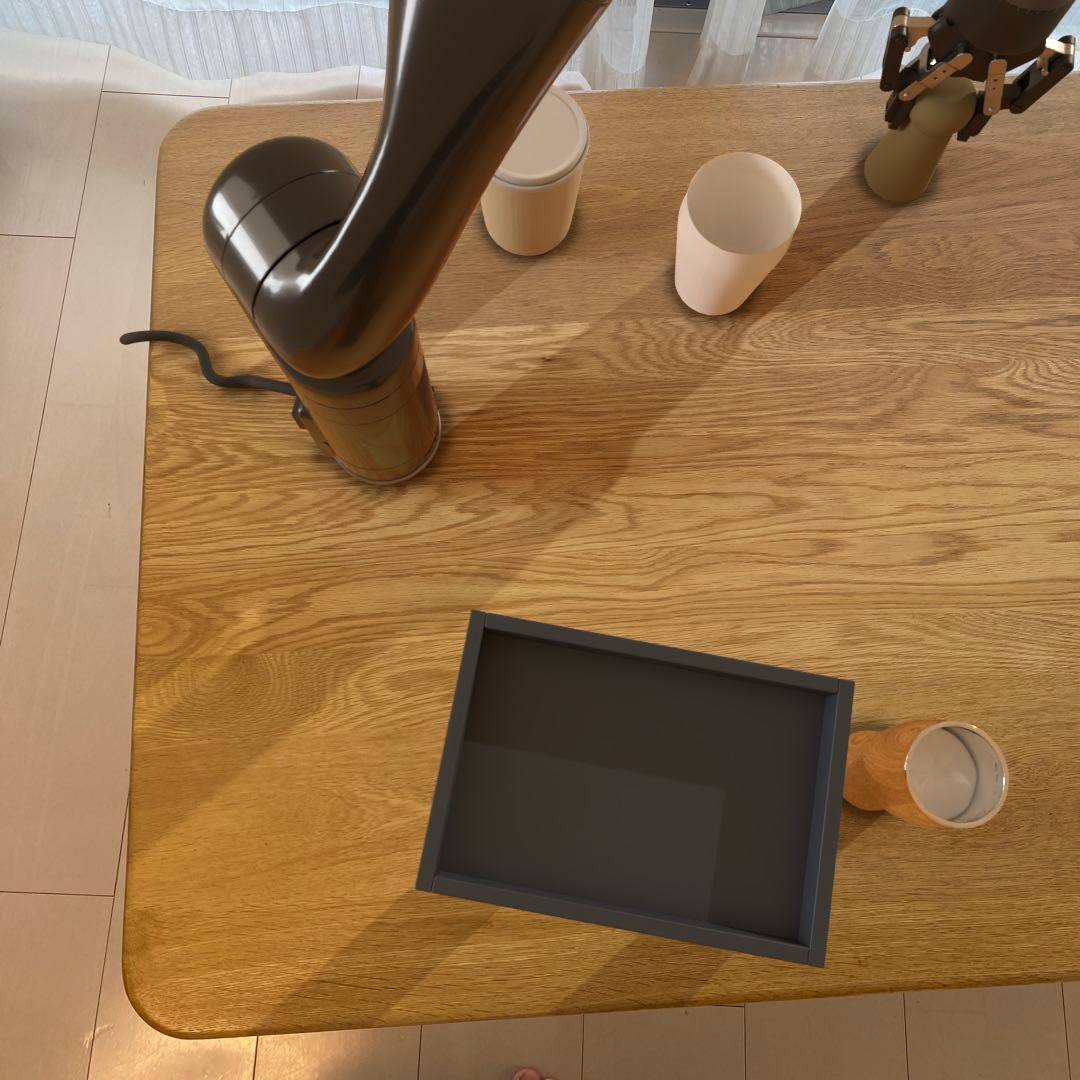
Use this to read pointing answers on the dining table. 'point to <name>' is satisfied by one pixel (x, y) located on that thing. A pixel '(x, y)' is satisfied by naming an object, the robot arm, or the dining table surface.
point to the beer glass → (927, 773)
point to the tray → (641, 788)
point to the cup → (733, 230)
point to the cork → (920, 140)
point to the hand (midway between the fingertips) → (927, 125)
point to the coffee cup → (539, 178)
